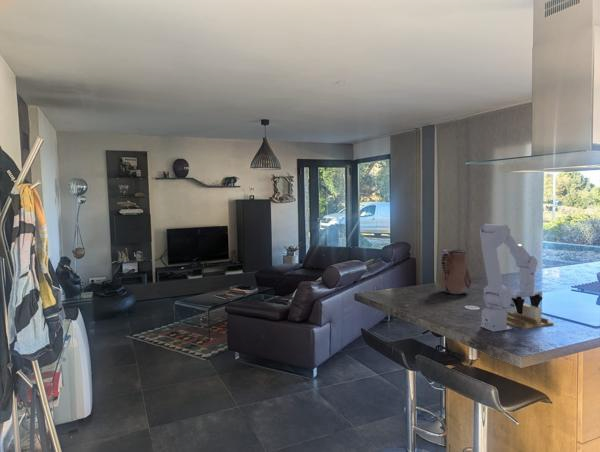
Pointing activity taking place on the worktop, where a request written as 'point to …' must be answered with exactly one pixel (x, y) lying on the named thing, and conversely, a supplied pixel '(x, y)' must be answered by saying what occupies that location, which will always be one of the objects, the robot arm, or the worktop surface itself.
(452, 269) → the ceramic pitcher
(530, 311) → the cream rectangular block
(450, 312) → the worktop surface
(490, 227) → the robot arm
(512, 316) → the ridged tan board
